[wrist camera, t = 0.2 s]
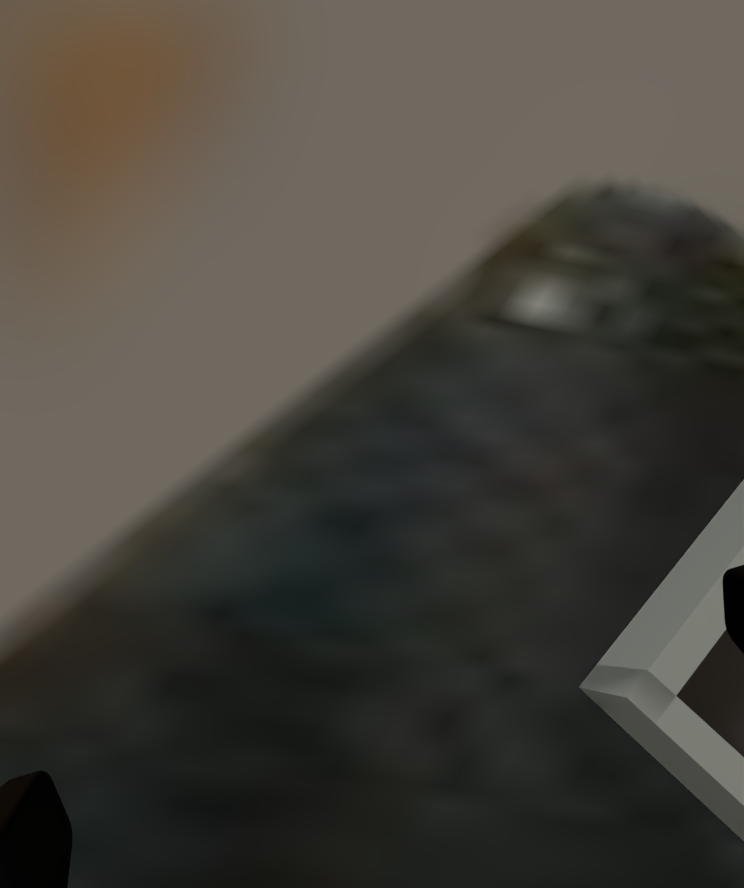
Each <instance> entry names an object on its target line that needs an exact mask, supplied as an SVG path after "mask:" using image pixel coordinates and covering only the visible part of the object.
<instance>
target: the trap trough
mask: <svg viewBox="0 0 744 888" xmlns="http://www.w3.org/2000/svg"><path fill="white" fill-rule="evenodd" d="M741 565H744V480H743V481H742V482H741V483H740V485H739V486H738V487H737V489H736V490H735V491H734V492H733V494H732V495H731V496H730V497H729V499H728V500H727V501H726V502H725V504H724V505H723V506H722V507H721V509H720V510H719V511H718V512H717V514H716V515H715V516H714V517H713V519H712V520H711V521H710V522H709V524H708V525H707V526H706V528H705V529H704V530H703V531H702V533H701V534H700V535H699V536H698V538H697V539H696V540H695V541H694V543H693V544H692V545H691V546H690V548H689V549H688V550H687V551H686V553H685V554H684V555H683V556H682V558H681V559H680V560H679V562H678V563H677V564H676V565H675V567H674V568H673V569H672V570H671V572H670V573H669V574H668V575H667V577H666V578H665V579H664V580H663V582H662V583H661V584H660V585H659V587H658V588H657V589H656V590H655V592H654V593H653V594H652V595H651V597H650V598H649V599H648V601H647V602H646V603H645V604H644V606H643V607H642V608H641V609H640V611H639V612H638V613H637V614H636V616H635V617H634V618H633V619H632V621H631V622H630V623H629V624H628V626H627V627H626V628H625V629H624V631H623V632H622V633H621V634H620V636H619V637H618V638H617V640H616V641H615V642H614V643H613V645H612V646H611V647H610V648H609V650H608V651H607V652H606V653H605V655H604V656H603V657H602V658H601V660H600V661H599V662H598V663H597V665H596V666H595V667H594V668H593V670H592V671H591V672H590V673H589V675H588V676H587V677H586V679H585V680H584V681H583V682H582V684H581V685H580V686H579V688H580V689H581V690H582V691H583V692H584V693H586V694H587V695H588V696H589V697H590V698H591V699H592V700H593V701H594V702H595V703H596V704H597V705H598V706H599V707H601V708H602V709H603V710H604V711H605V712H606V713H607V714H608V715H609V716H610V717H611V718H612V719H613V720H614V721H616V722H617V723H618V724H619V725H620V726H621V727H622V728H623V729H624V730H625V731H626V732H627V733H628V734H629V735H631V736H632V737H633V738H634V739H635V740H636V741H637V742H638V743H639V744H640V745H641V746H642V747H643V748H644V749H646V750H647V751H648V752H649V753H650V754H651V755H652V756H653V757H654V758H655V759H656V760H657V761H658V762H659V763H661V764H662V765H663V766H664V767H665V768H666V769H667V770H668V771H669V772H670V773H671V774H672V775H673V776H674V777H675V778H677V779H678V780H679V781H680V782H681V783H682V784H683V785H684V786H685V787H686V788H687V789H688V790H689V791H690V792H692V793H693V794H694V795H695V796H696V797H697V798H698V799H699V800H700V801H701V802H702V803H703V804H704V805H705V806H707V807H708V808H709V809H710V810H711V811H712V812H713V813H714V814H715V815H716V816H717V817H718V818H719V819H720V820H722V821H723V822H724V823H725V824H726V825H727V826H728V827H729V828H730V829H731V830H732V831H733V832H734V833H735V834H737V835H738V836H739V837H740V838H741V839H742V840H743V841H744V654H743V653H742V652H741V651H740V649H739V648H738V647H737V646H736V645H735V643H734V642H733V641H732V639H731V638H730V636H729V634H728V632H727V629H726V626H725V619H724V602H723V584H722V581H723V575H724V573H725V572H726V571H727V570H728V569H731V568H734V567H737V566H741Z"/></svg>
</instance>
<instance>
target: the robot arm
mask: <svg viewBox="0 0 744 888" xmlns="http://www.w3.org/2000/svg"><path fill="white" fill-rule="evenodd" d="M722 584H723V602H724V619H725V626H726V629H727V632H728V634H729V636H730V638H731V639H732V641H733V642H734V643H735V645H736V646H737V647H738V648H739V649H740V651H741V652H742V653H743V654H744V565H741V566H737V567H734V568H731V569H728V570H727V571H726V572H725V573H724V575H723V581H722ZM71 850H72V828H71V824H70V820H69V818H68V815H67V813H66V811H65V808H64V806H63V804H62V802H61V799H60V797H59V795H58V792H57V790H56V788H55V785H54V783H53V781H52V779H51V777H50V776H49V774H48V773H47V772H44V771H41V770H39V771H35V772H32V773H29V774H25V775H22V776H18V777H15V778H12V779H10V780H8V781H6V782H5V783H4V784H3V785H2V786H1V787H0V888H67V885H68V876H69V867H70V858H71Z"/></svg>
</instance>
